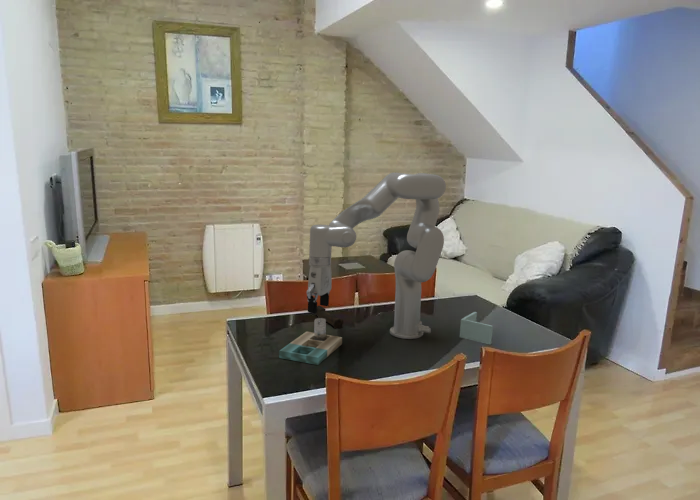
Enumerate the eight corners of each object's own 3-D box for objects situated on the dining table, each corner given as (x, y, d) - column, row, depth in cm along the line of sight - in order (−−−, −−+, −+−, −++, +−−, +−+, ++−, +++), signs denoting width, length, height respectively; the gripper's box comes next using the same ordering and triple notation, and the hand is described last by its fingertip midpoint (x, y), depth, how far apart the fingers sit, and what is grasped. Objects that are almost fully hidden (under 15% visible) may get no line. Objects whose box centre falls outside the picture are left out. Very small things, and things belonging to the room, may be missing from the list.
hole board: (341, 343, 186) (342, 337, 186) (317, 365, 168) (318, 357, 167) (306, 338, 191) (306, 331, 191) (279, 357, 173) (279, 350, 173)
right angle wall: (490, 346, 188) (491, 326, 187) (459, 338, 196) (460, 319, 194) (502, 337, 198) (504, 318, 196) (473, 330, 205) (474, 311, 203)
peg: (327, 343, 187) (327, 319, 185) (322, 347, 183) (322, 322, 181) (317, 341, 188) (317, 317, 186) (312, 345, 184) (312, 320, 183)
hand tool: (343, 328, 203) (343, 316, 202) (334, 329, 201) (334, 318, 200) (322, 314, 219) (322, 303, 219) (313, 315, 217) (313, 304, 217)
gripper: (319, 267, 170) (317, 317, 174) (340, 257, 186) (338, 304, 189) (298, 264, 173) (297, 314, 176) (320, 255, 189) (319, 301, 192)
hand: (318, 309), depth 183 cm, fingers open, 9 cm apart
